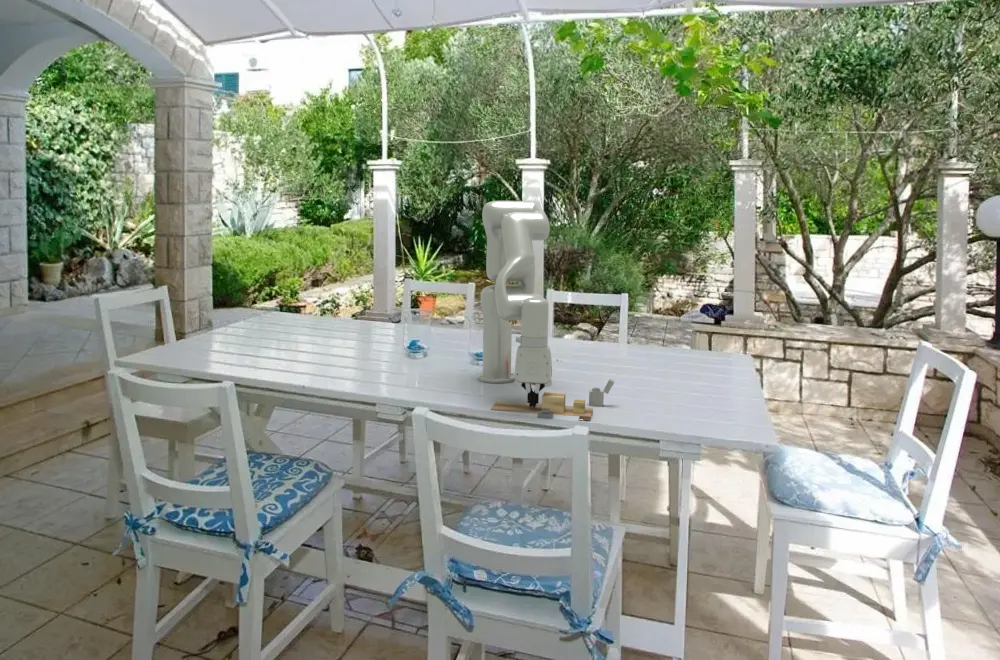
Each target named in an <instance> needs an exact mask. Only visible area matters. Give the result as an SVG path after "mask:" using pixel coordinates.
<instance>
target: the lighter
mask: <svg viewBox="0 0 1000 660" xmlns="http://www.w3.org/2000/svg"><path fill="white" fill-rule="evenodd" d="M614 383H615V380H614V379H613V378H612V379H611V378H609V380H608V381H607V383H606V386H604V389H603V390H601V387H592V388H591V389H589V392H588V406H589V407H604V397H605V396H604V394H609V393H610V391H611V389H612V387H613V385H614Z"/></svg>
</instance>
